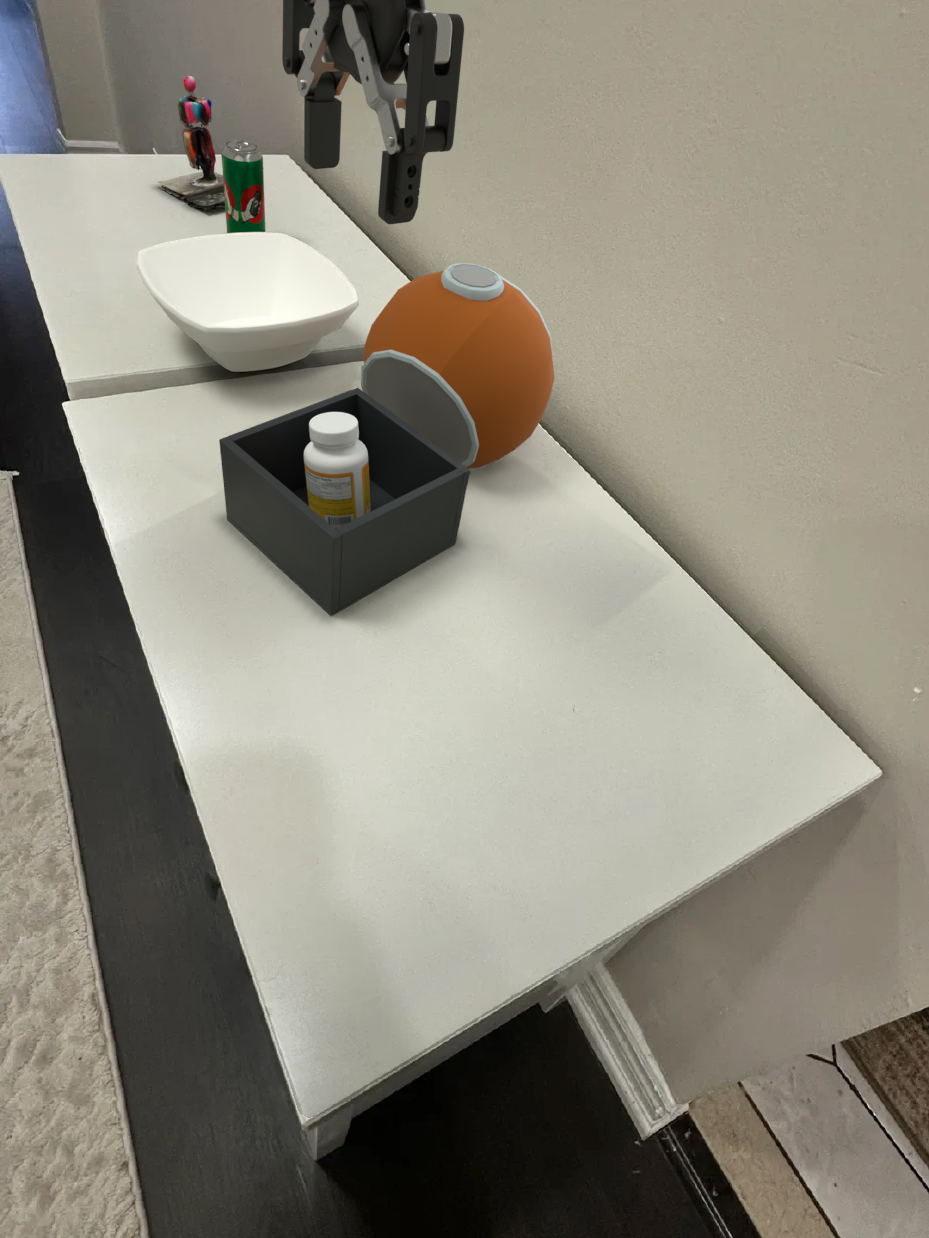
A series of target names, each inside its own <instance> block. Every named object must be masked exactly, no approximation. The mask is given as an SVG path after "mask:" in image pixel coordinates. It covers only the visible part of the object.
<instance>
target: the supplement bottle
mask: <svg viewBox="0 0 929 1238" xmlns="http://www.w3.org/2000/svg"><path fill="white" fill-rule="evenodd" d="M309 432H310V439H311V442H310V443H309V444H308V445H307V446H306V448H305V450H304V466H305V474H306V483H307V492H308V501H309V507H310V508H311V509H312V510H314V511H315V512H316V513H317V514H318V515H319V516H321V517H322V518H323V519H324V520H325V521H326V522H328V523H329V524H330V525H331V526H332V527H333V528H335V529H337V528H339V527H341V526H343V525H345V524H347V523H349V522H351V521H353V520H355V519H357V518H359V517H361V516H363V515H365V514H367V513H369V512H371V502H370V482H369V462H368V451H367V448H366V446H365V445H364V444H363V443H362V442H361V441H360V440H358V438H359V428H358V421H357V419H356V418H355V417H354V416H352V415H350V414H347V413H343V412H327V413H322V414H319V415H317V416H315V417H313V418H312V419H311V420H310V422H309Z"/></svg>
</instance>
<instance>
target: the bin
mask: <svg viewBox="0 0 929 1238" xmlns="http://www.w3.org/2000/svg"><path fill="white" fill-rule="evenodd" d="M327 412H343V413H347V414H350V415H352V416H354V417H355V418H356V419H357V421H358V428H359V438H358V440H360V441H361V442H362V443H363V444H364V445H365V446H366V448H367V451H368V462H369V482H370V502H371V512H369V513H367V514H365V515H363V516H361V517H359V518H357V519H355V520H353V521H351V522H349V523H347V524H345V525H343V526H341V527H339V528H337V529H335V528H333V527H332V526H331V525H330V524H329V523H328V522H326V521H325V520H324V519H323V518H322V517H321V516H319V515H318V514H317V513H316V512H315V511H314V510H312V509H311V508H310V507H309V501H308V492H307V483H306V474H305V466H304V450H305V448H306V446H307V445H308V444H309V443H310V442H311V439H310V432H309V422H310V420H311V419H312V418H313V417H315V416H317V415H319V414H322V413H327ZM218 442H219V449H220V450H219V451H220V452H219V453H220V461H221V473H222V482H223V492H224V503H225V512H226V513H225V514H226V520H227V521H228V522H229V523H230V524H231V525H232V526H233V527H234V528H235V529H236V530H237V531H238V532H240V533H241V534H242V535H243V536H244V537H245V538H246V539H247V540H248V541H249V542H250V543H251V544H252V545H254V547H256V548H257V549H258V550H259V552H261V553H262V554H263V555H264V556H265V557H267V558H268V559H269V560H270V561H271V563H273V564H274V565H275V566H276V567H277V568H278V569H279V570H280V571H282V573H284V574H285V575H286V576H287V577H288V578H289V579H290V580H291V581H292V582H293V583H295V584H296V585H297V586H298V587H299V588H300V589H301V590H302V591H303V592H304V593H305V594H306V595H307V596H308V597H310V598H311V600H312V601H314V602H315V603H316V604H317V605H318V606H319V607H320V608H321V609H323V611H325V612H326V613H327V614H328V615H329V616H330V617H332V616H334V615H336V614H338V613H339V612H341V611H343V610H345V609H346V608H349V607H350V606H352V605H354V604H355V603H357V602H359V601H360V600H362V599H364V598H366V597H368V596H369V595H370V594H373V593H374V592H376V591H377V590H380V589H381V588H383V587H384V586H387V585H388V584H389V583H391V582H393V581H395V580H397V579H399V578H400V577H402V576H404V575H405V574H407V573H409V572H411V571H413V570H414V569H416V568H417V567H419V566H421V565H423V564H424V563H427V562H428V561H430V560H431V559H434V558H435V557H437V556H438V555H440V554H442V553H444V552H445V551H447V550H450V549H451V548H453V547H455V545H456V544H457V538H458V535H459V534H458V533H459V529H460V523H461V519H462V514H463V508H464V503H465V499H466V494H467V489H468V483H469V478H470V473H471V470H470V469H468V468H467V467H466V466H464V465H463V464H461V463H460V462H459V461H457V460H456V459H455V458H453V457H452V456H451V455H449V454H448V453H446V452H445V451H444V450H442V449H441V448H440V447H438V446H437V445H435V444H434V443H433V442H431V441H430V440H429V439H427V438H426V437H425V436H423V435H422V434H420V433H419V432H418V431H416V430H415V429H414V428H412V427H411V426H410V425H408V424H407V423H405V422H404V421H403V420H401V419H400V418H399V417H397V416H396V415H395V414H393V413H392V412H390V411H389V410H388V409H386V408H385V407H384V406H382V405H381V404H380V403H378V402H377V401H375V400H374V399H373V398H371V397H370V396H369V395H367V394H366V393H365V392H363V390H362V389H361V388H359V387H356V388H353V389H349V390H347V391H344V392H342V393H339V394H336V395H333V396H331V397H328V398H325V399H323V400H320V401H317V402H315V403H313V404H309V405H307V406H305V407H302V408H299V409H297V410H293V411H291V412H289V413H286V414H282V415H281V416H278V417H275V418H271V419H270V420H267V421H265V422H262V423H259V424H257V425H256V424H255V425H254V426H250V427H249V428H245V429H243V430H240V431H237V432H235V433H232V434H230V435H227V436H225V437H222V438H220V439H219V441H218Z"/></svg>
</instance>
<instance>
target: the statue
mask: <svg viewBox="0 0 929 1238" xmlns="http://www.w3.org/2000/svg"><path fill="white" fill-rule="evenodd" d="M183 86H184V89H185V91H186V92H187V93H188V94H187V95H188V96H187V95H184V96H183V98H182V97H179V98H178V101H177V102H176V103H177V110H178V116H179V122H180V123H181V125H182V126H183V127H184V128H182V129H183V130H182V131H181V132H182V133H181V135H182V141H183V147H184V152H185V154H186V157H187V160H188V163H189V166H190V167H191V168H192V169H193V170H194V169H195V170H198V171H197V172H194V173H191V174H186V175H182V176H178V177H173V178H169V179H165V180H160V181H157V183H158V184H161V186H159V185H158V189H161V191H165V192H166V193H168V194H171V195H173V196H174V197H177V198H180V199H181V200H185V199H186V202H188V203H187V205H188V206H189V207H193V208H195V207H196V208H198V209H204V210H207V209H211V208H214V207H215V205H216V208H225V198H224V184H223V174H221V173H218V172H216V171H215V165H216V162H217V157H216V151H215V148H214V141H213V138H212V134H211V132H210V130H209V128H208V127H209V123H212V100H211V99H209V98H205V97H201V99H200V97H199V96H198V95H197V96H195V90H196V87H197V82H196V78H195V77H194V76H191V75H185V76H184V77H183ZM198 123H201V124H200V126H194V125H195V124H198Z"/></svg>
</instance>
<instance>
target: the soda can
mask: <svg viewBox="0 0 929 1238" xmlns="http://www.w3.org/2000/svg"><path fill="white" fill-rule="evenodd" d="M220 154H221V156H220V157H221V165H222V166H221V168H222V175H223V184H224V198H225V201H224V202H225V204H224V205H225V207H224V210H225V224H226V225H225V226H226V234H227V233H244V232H267V231H266V207H265V205H266V204H265V179H264V156H263V155H262V153H261V151H260V146H259V145H258V144H257V143H255V142H252V141H250V140H245V139H230V140H226V141H225V142H224V143H223V149H222V151H221V152H220Z"/></svg>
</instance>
